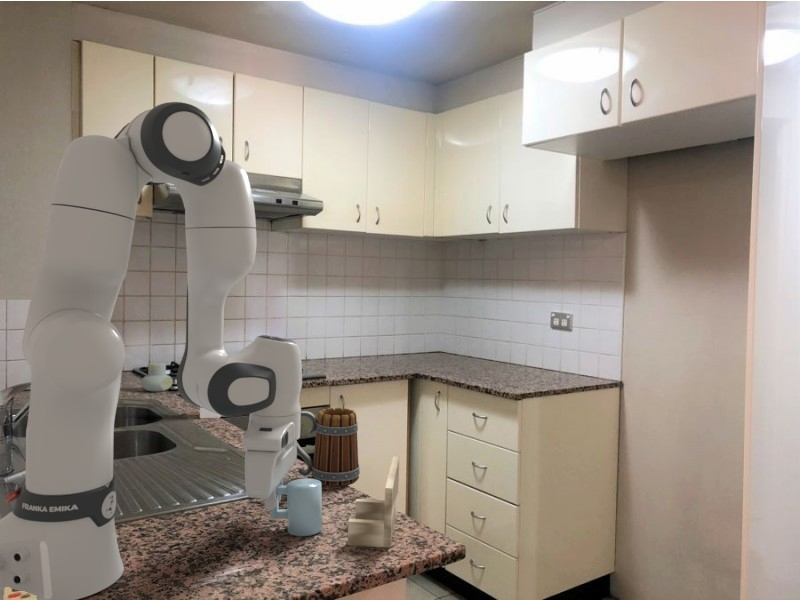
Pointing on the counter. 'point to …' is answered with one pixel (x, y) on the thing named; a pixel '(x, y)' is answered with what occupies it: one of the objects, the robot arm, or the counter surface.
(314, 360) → the counter surface
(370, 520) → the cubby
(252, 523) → the counter surface
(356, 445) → the mug
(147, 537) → the counter surface
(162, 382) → the air freshener
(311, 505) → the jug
